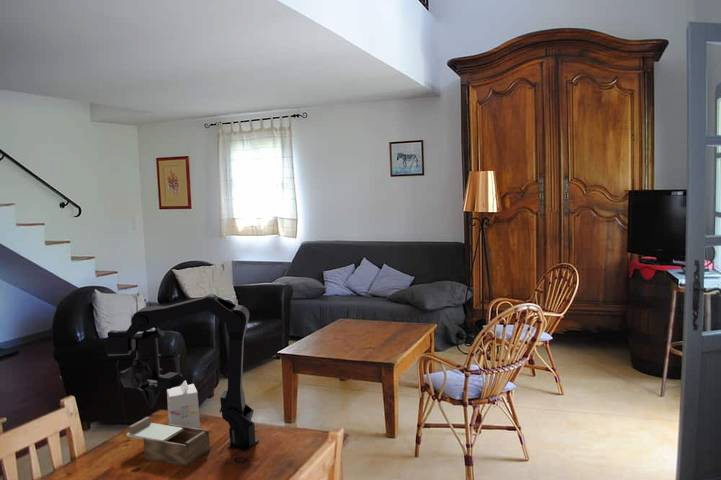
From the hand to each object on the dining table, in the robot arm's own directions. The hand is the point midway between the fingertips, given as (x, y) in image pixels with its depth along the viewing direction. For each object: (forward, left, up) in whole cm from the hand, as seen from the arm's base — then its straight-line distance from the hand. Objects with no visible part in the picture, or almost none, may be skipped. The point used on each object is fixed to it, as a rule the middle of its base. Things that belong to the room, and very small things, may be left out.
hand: (151, 407), depth 163 cm
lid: (0, 0, -7) cm, 7 cm away
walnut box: (-8, 0, -12) cm, 15 cm away
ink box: (+3, -16, -13) cm, 21 cm away
